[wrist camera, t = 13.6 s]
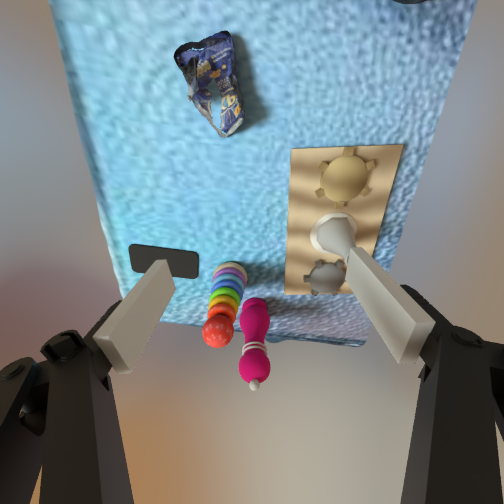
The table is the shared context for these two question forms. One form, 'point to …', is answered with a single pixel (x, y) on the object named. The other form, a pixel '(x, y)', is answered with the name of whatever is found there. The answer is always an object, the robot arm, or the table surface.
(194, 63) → the snack package
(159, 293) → the robot arm
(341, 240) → the flask
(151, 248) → the phone
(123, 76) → the table surface
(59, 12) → the table surface
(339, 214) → the gear board
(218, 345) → the stacking toy
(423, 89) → the table surface
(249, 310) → the pepper mill
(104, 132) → the table surface
